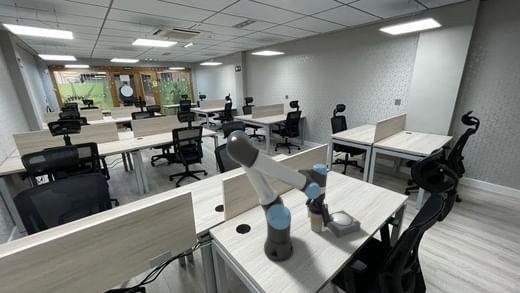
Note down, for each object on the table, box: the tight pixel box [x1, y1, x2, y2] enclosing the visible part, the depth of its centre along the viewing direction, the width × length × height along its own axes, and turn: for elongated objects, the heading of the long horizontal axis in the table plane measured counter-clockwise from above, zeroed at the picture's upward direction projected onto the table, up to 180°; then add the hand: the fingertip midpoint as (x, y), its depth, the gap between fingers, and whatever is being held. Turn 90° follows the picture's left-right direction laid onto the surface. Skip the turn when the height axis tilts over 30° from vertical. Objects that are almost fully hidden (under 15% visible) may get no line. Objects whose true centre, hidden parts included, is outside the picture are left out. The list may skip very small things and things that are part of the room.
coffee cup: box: [309, 204, 323, 233], centre depth 119 cm, size 9×9×15 cm
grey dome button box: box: [326, 209, 362, 238], centre depth 122 cm, size 16×14×6 cm
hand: (316, 223), depth 120 cm, fingers open, 13 cm apart
